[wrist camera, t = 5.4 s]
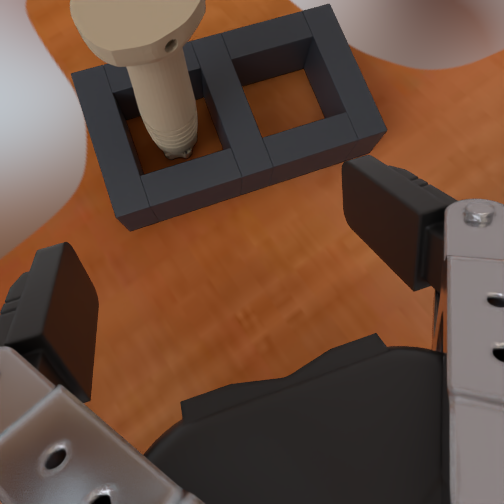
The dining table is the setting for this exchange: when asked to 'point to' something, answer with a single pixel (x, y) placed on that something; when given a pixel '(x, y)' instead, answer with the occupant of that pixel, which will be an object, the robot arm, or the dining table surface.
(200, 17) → the handle
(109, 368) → the dining table surface
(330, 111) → the tool holder
